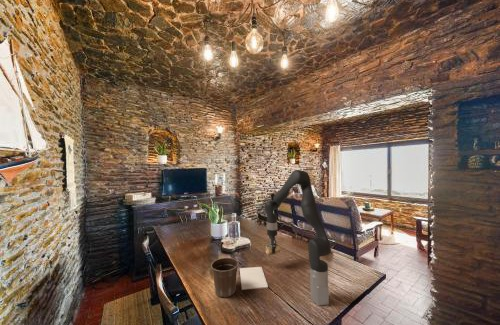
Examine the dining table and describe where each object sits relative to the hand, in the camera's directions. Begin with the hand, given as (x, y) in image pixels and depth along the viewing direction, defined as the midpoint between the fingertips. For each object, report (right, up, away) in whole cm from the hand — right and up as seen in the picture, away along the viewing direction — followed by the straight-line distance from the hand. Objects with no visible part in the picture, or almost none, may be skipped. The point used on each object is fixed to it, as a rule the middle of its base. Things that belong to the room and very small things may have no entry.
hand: (272, 251), depth 142 cm
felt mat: (-15, -12, -12) cm, 22 cm away
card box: (0, -1, 0) cm, 1 cm away
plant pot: (-31, -12, -26) cm, 42 cm away
